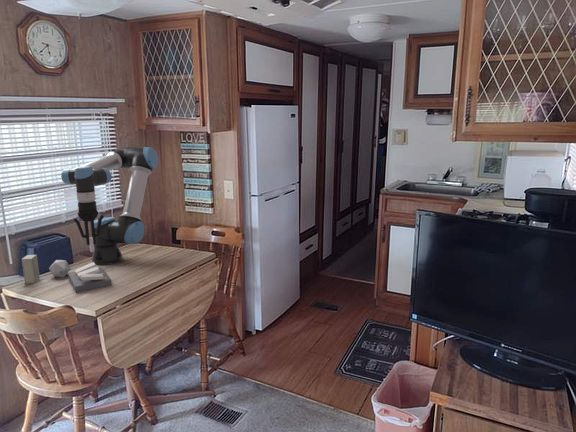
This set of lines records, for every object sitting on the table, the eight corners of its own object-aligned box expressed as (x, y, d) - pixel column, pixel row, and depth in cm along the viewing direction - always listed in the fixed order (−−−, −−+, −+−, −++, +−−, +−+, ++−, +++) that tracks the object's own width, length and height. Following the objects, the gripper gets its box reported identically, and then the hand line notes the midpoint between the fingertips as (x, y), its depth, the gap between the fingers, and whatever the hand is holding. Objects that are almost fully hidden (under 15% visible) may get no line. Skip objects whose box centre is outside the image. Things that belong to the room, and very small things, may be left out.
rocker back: (75, 272, 207) (74, 270, 207) (94, 264, 211) (93, 261, 211) (77, 275, 204) (76, 272, 203) (96, 266, 208) (95, 264, 207)
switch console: (68, 279, 207) (67, 271, 206) (102, 272, 215) (101, 265, 215) (75, 293, 190) (74, 285, 189) (111, 285, 198) (111, 277, 198)
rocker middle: (77, 276, 201) (76, 273, 201) (97, 269, 206) (97, 266, 206) (79, 278, 198) (78, 276, 197) (99, 271, 202) (98, 269, 202)
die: (55, 281, 206) (66, 264, 206) (42, 271, 207) (53, 254, 208) (65, 281, 214) (77, 265, 214) (53, 272, 215) (64, 255, 216)
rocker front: (80, 277, 195) (80, 274, 195) (101, 276, 201) (101, 273, 200) (81, 280, 192) (82, 277, 192) (103, 279, 197) (103, 276, 197)
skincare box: (30, 279, 208) (27, 254, 205) (40, 278, 208) (37, 254, 206) (24, 283, 202) (20, 258, 199) (34, 283, 202) (31, 258, 200)
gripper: (71, 203, 190) (77, 255, 195) (103, 200, 197) (108, 251, 202) (69, 201, 196) (75, 251, 201) (100, 198, 203) (105, 247, 208)
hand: (92, 251), depth 201 cm, fingers closed
